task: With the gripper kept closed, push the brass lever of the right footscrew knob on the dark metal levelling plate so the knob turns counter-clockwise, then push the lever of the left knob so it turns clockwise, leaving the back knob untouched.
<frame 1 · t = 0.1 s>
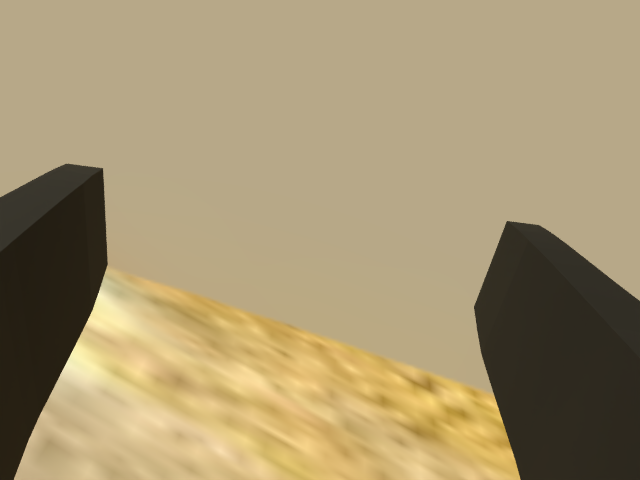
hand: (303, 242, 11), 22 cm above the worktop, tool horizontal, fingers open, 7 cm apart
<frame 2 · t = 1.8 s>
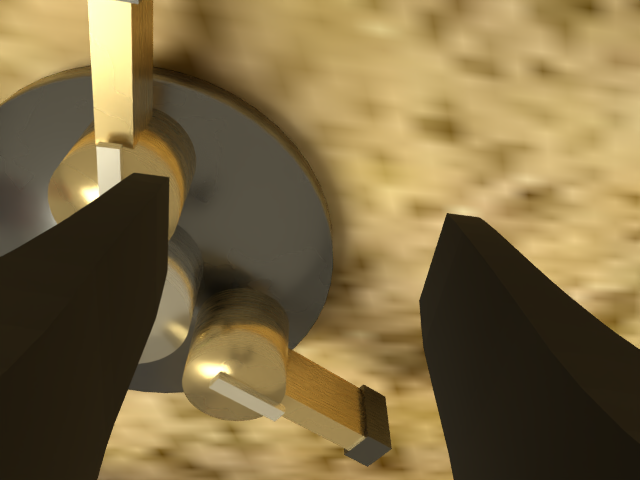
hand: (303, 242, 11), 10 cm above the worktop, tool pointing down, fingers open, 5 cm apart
level plate: (150, 243, 24), on the worktop
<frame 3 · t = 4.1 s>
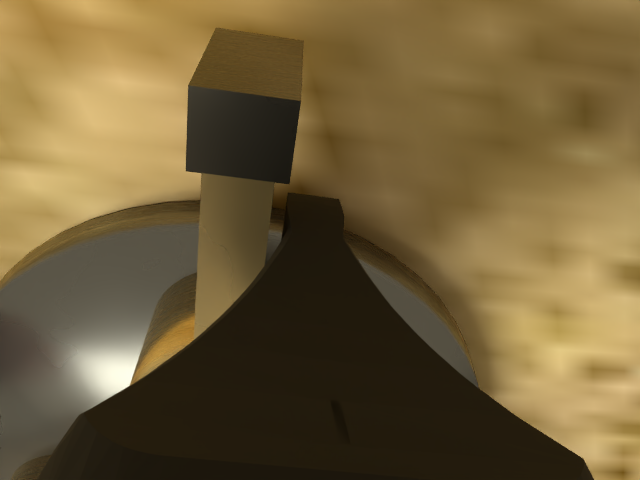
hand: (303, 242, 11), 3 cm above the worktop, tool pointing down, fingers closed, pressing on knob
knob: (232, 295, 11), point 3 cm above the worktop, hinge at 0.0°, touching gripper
level plate: (227, 411, 18), on the worktop
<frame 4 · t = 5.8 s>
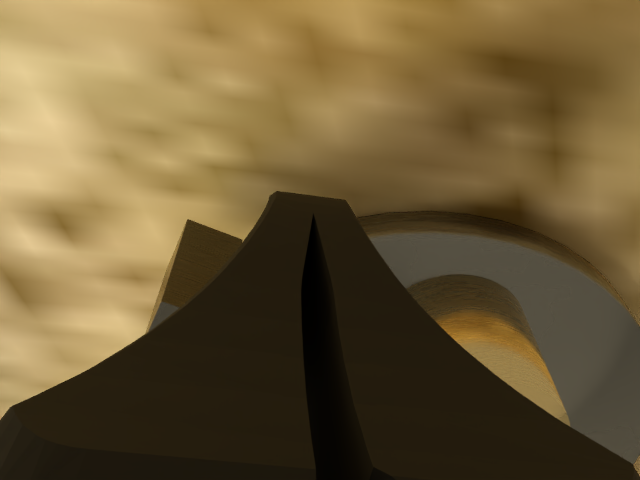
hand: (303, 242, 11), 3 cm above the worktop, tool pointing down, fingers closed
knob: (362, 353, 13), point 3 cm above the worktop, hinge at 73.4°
level plate: (400, 407, 19), on the worktop
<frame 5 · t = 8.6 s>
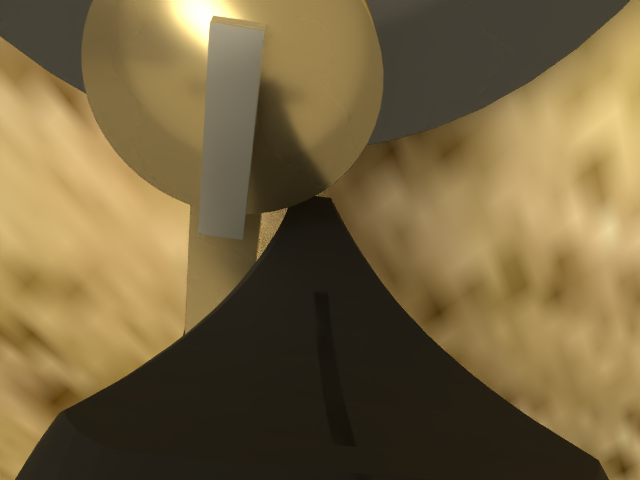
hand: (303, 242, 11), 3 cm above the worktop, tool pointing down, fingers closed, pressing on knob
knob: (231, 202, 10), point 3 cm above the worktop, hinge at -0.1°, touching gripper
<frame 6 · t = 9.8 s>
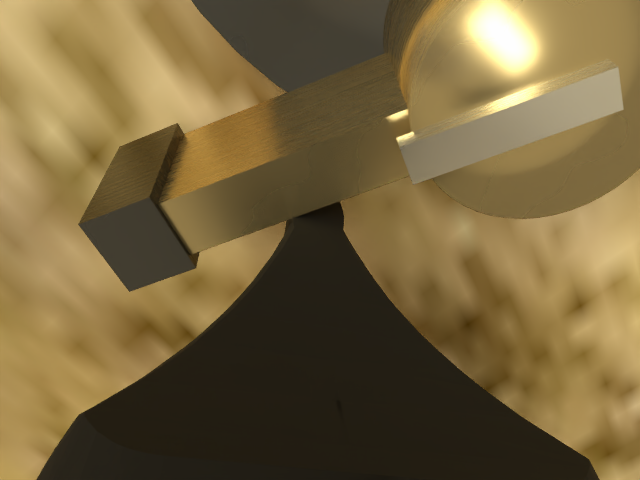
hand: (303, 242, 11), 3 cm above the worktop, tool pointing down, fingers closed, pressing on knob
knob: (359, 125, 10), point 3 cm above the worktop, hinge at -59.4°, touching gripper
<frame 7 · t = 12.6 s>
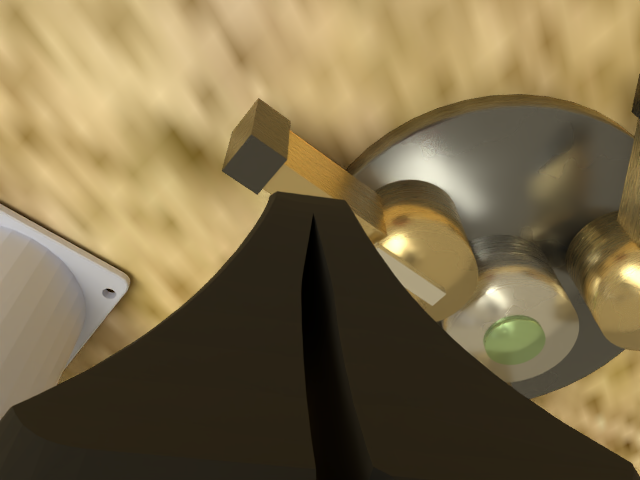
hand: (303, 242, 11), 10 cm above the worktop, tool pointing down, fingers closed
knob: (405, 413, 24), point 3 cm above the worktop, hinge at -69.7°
level plate: (484, 264, 24), on the worktop
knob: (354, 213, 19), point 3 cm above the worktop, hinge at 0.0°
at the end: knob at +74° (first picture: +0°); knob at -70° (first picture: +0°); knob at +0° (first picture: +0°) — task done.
